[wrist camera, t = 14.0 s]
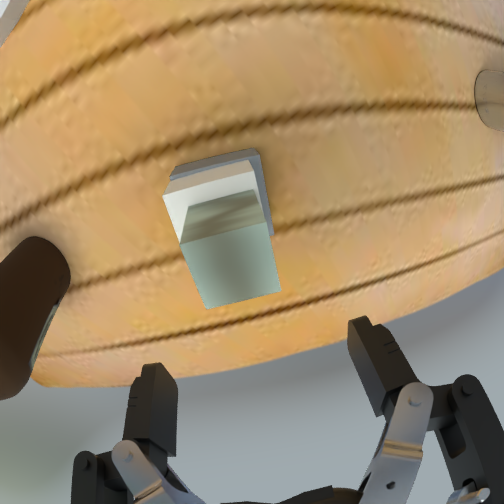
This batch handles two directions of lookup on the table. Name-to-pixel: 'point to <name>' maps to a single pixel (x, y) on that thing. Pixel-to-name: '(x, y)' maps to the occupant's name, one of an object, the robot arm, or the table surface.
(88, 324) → the table surface
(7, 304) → the olive oil
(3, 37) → the ashtray
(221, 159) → the slate base block
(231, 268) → the sage block
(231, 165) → the cream top block
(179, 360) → the table surface
